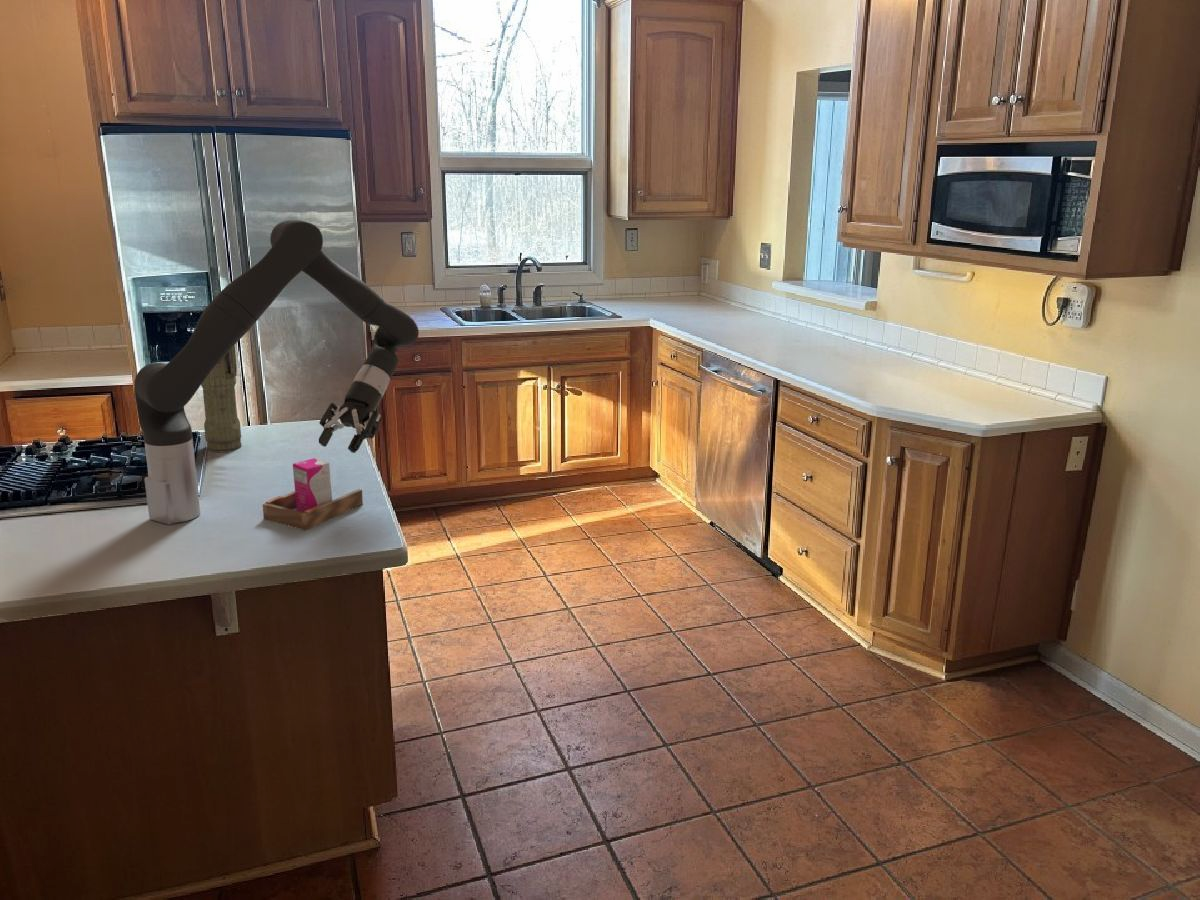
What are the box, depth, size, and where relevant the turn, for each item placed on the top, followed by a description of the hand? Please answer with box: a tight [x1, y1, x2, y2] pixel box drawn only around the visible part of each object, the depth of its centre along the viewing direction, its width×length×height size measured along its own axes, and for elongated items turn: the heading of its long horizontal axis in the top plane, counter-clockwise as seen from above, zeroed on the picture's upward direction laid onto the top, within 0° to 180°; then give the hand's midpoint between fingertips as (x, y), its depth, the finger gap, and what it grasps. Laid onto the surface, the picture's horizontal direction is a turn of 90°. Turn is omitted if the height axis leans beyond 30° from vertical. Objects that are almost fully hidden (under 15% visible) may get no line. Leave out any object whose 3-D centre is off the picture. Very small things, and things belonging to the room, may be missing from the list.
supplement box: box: [292, 457, 333, 512], centre depth 198 cm, size 6×6×12 cm
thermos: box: [200, 344, 242, 453], centre depth 236 cm, size 9×12×35 cm
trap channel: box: [262, 488, 364, 531], centre depth 199 cm, size 18×12×4 cm, turn 154°
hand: (336, 447), depth 203 cm, fingers open, 8 cm apart
